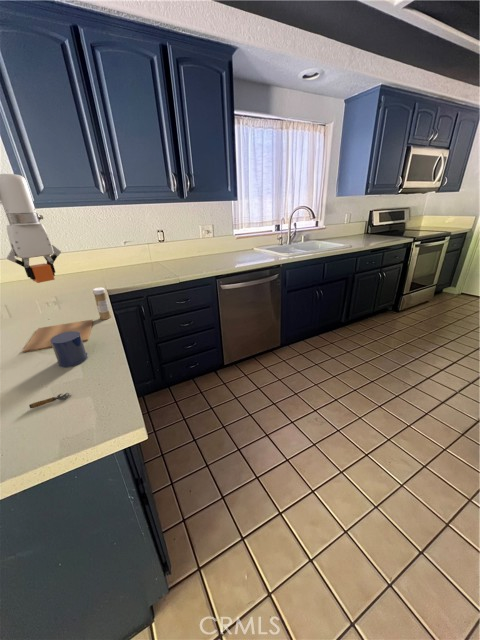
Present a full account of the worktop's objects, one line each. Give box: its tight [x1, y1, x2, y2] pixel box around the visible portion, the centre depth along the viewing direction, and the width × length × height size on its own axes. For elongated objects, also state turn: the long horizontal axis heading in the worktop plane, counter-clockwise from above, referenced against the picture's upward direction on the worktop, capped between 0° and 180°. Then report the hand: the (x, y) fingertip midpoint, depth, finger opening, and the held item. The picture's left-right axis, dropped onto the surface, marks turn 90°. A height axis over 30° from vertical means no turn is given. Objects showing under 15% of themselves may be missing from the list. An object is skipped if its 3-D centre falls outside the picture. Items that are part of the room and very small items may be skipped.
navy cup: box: [50, 331, 89, 368], centre depth 84 cm, size 8×8×8 cm
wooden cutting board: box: [22, 319, 94, 353], centre depth 103 cm, size 20×20×1 cm
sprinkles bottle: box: [92, 287, 112, 320], centre depth 114 cm, size 5×5×14 cm
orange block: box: [29, 263, 56, 284], centre depth 88 cm, size 5×5×5 cm
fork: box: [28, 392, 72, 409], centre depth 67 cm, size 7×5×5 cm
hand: (42, 276), depth 89 cm, fingers closed on orange block, 5 cm apart
